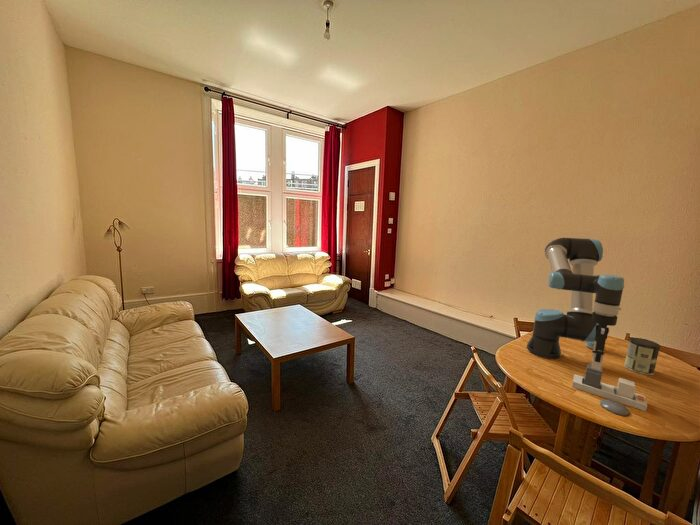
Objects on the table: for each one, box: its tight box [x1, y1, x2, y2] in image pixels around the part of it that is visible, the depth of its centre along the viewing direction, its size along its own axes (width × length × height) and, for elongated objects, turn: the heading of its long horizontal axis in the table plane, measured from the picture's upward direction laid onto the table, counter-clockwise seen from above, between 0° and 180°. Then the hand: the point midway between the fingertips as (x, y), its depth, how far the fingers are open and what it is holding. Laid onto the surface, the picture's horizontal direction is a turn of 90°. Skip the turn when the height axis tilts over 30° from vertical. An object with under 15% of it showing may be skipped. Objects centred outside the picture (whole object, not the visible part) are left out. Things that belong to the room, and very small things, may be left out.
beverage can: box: [584, 341, 596, 350], centre depth 157 cm, size 7×7×12 cm
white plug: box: [616, 377, 636, 400], centre depth 112 cm, size 4×4×6 cm
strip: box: [571, 373, 648, 412], centre depth 116 cm, size 22×9×3 cm, turn 49°
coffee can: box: [623, 337, 661, 376], centre depth 135 cm, size 10×10×14 cm
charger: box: [584, 363, 603, 389], centre depth 118 cm, size 5×5×8 cm
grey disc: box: [599, 398, 630, 417], centre depth 107 cm, size 8×8×1 cm
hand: (595, 362), depth 117 cm, fingers open, 13 cm apart
